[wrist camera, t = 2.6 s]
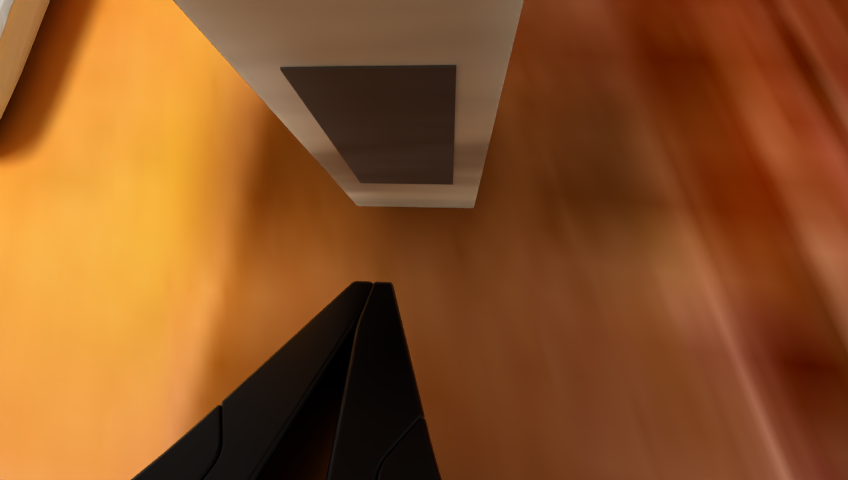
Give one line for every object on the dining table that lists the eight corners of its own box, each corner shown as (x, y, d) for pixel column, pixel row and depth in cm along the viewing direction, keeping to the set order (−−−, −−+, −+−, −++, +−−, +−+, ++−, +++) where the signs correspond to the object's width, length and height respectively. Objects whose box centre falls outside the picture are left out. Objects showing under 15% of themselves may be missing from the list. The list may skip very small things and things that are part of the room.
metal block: (473, 209, 15) (562, -155, 3) (357, 206, 15) (55, -126, 4) (475, 100, 16) (547, -489, 4) (365, 100, 16) (149, -436, 5)
